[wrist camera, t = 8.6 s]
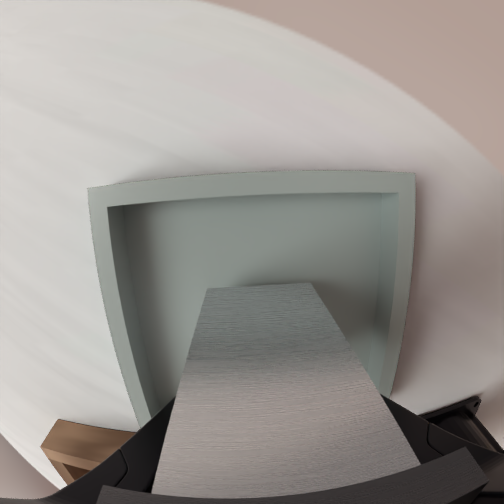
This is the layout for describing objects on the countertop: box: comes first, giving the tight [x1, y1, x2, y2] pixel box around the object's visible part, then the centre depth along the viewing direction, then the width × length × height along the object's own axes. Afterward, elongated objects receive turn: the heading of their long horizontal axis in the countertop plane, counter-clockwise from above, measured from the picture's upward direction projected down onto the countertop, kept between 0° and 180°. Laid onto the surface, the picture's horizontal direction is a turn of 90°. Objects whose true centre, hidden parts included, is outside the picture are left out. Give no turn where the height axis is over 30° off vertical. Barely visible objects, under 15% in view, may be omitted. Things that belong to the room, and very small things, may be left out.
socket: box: [40, 419, 135, 485], centre depth 15 cm, size 8×8×3 cm
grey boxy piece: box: [96, 282, 489, 504], centre depth 7 cm, size 5×5×10 cm
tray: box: [87, 170, 416, 428], centre depth 13 cm, size 13×13×2 cm
